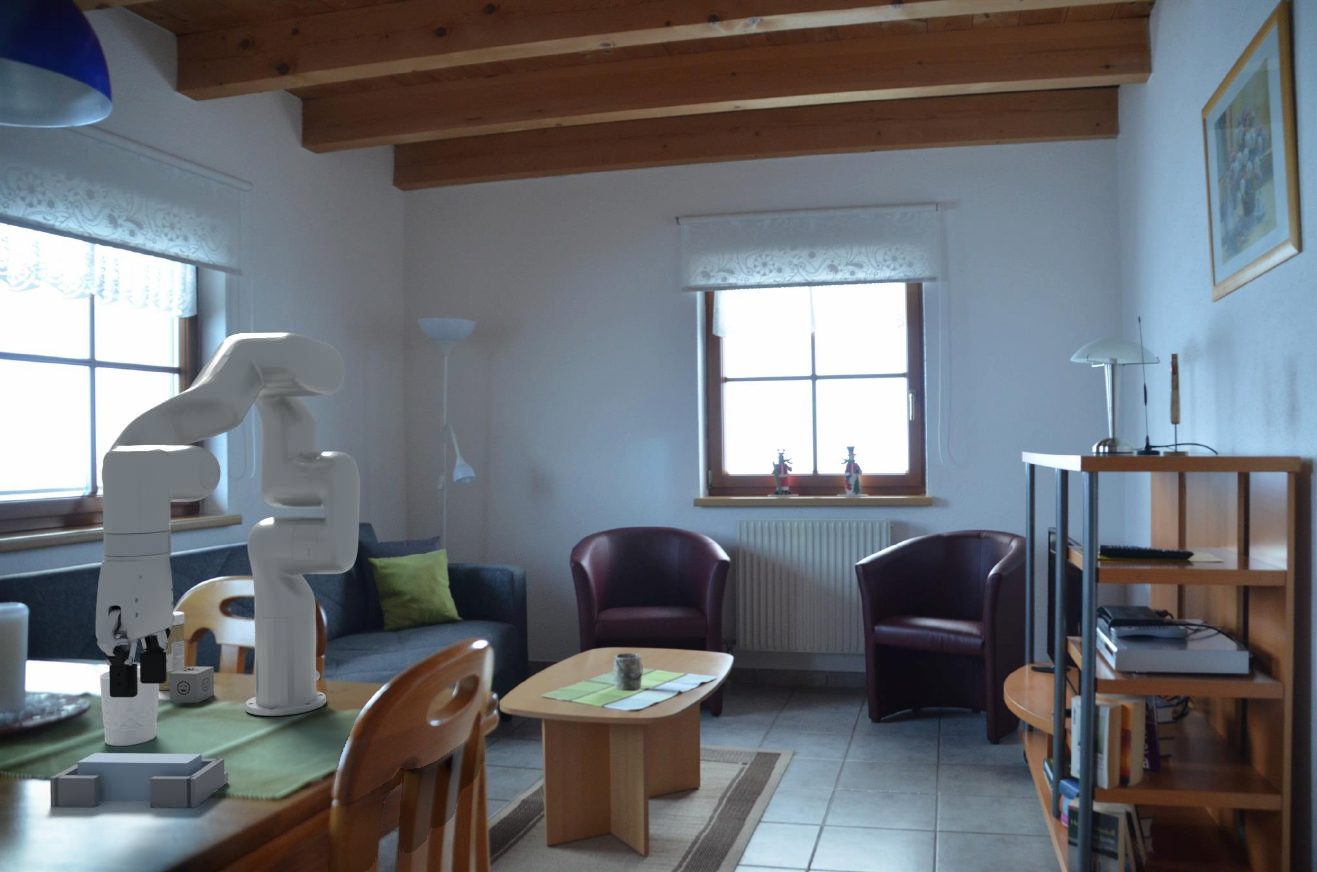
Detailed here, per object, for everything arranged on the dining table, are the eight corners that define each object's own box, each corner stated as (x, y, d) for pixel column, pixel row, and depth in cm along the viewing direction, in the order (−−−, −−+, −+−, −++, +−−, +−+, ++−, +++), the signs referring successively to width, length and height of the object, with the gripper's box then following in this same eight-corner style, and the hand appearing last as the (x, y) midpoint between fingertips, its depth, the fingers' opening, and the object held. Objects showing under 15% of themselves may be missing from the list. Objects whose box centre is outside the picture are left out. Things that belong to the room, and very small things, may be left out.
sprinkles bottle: (151, 689, 178) (150, 614, 178) (174, 683, 182) (173, 610, 182) (168, 692, 176) (167, 616, 176) (190, 686, 180) (190, 611, 180)
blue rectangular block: (77, 802, 124) (77, 761, 124) (94, 792, 127) (94, 752, 127) (187, 803, 123) (187, 763, 123) (201, 793, 127) (201, 754, 127)
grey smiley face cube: (186, 694, 175) (186, 666, 175) (213, 695, 174) (213, 666, 174) (169, 702, 170) (169, 673, 170) (197, 703, 169) (197, 673, 169)
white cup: (135, 749, 144) (134, 680, 144) (87, 746, 146) (87, 677, 146) (172, 733, 152) (171, 667, 152) (126, 730, 153) (126, 665, 153)
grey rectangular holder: (92, 782, 130) (92, 755, 130) (228, 783, 130) (227, 756, 130) (50, 806, 122) (50, 777, 122) (195, 807, 121) (194, 778, 121)
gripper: (146, 538, 134) (147, 673, 134) (64, 554, 117) (66, 708, 117) (201, 538, 134) (202, 673, 134) (127, 554, 116) (129, 708, 116)
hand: (138, 688), depth 125 cm, fingers open, 5 cm apart
